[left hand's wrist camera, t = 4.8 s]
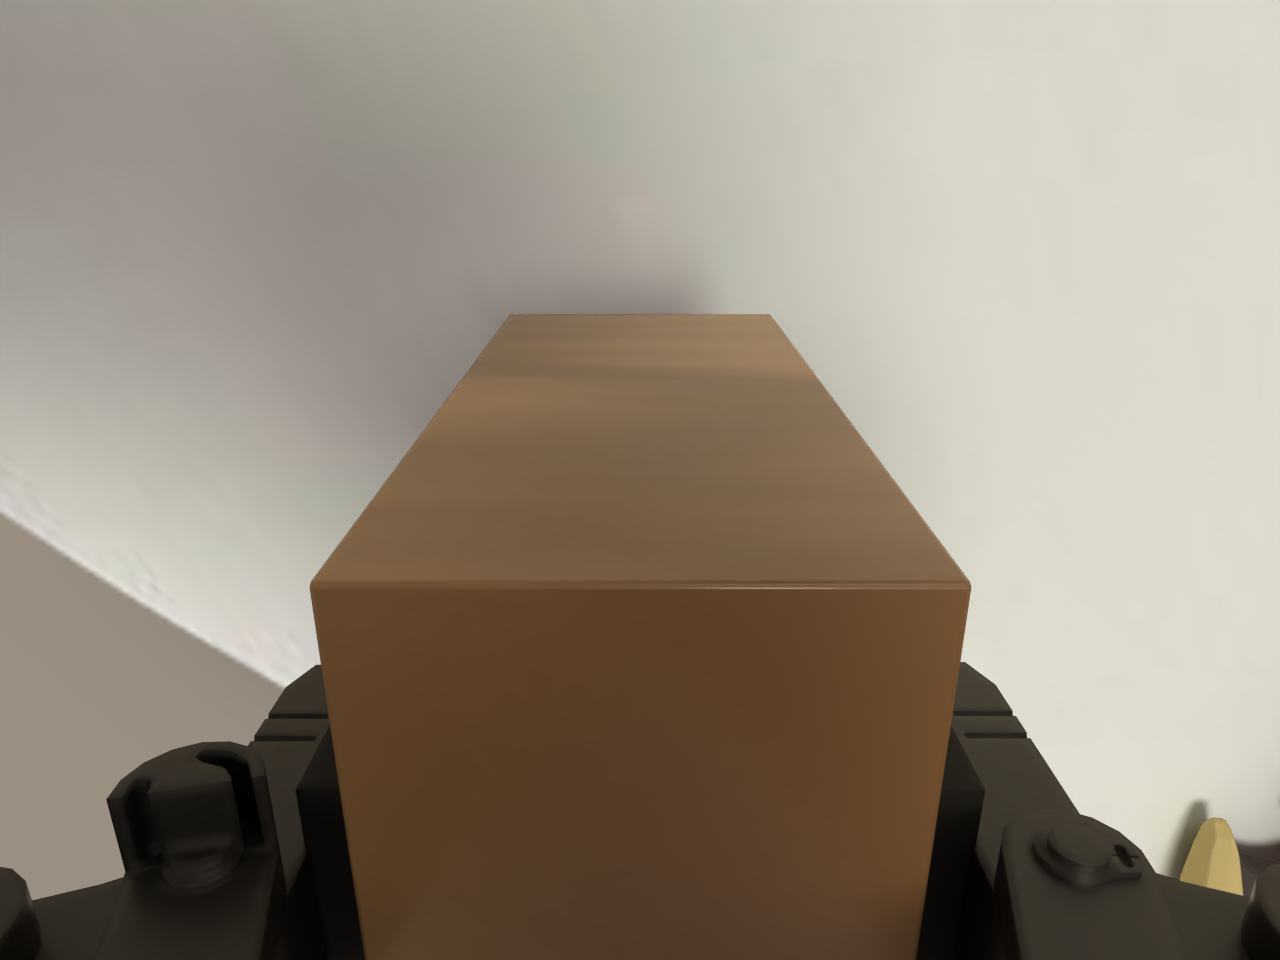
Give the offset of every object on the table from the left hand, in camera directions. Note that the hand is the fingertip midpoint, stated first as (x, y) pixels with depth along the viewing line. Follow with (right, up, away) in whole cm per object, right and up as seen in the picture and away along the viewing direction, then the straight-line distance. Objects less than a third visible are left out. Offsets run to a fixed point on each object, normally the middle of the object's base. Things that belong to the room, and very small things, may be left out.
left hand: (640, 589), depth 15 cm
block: (0, +1, +3) cm, 3 cm away
